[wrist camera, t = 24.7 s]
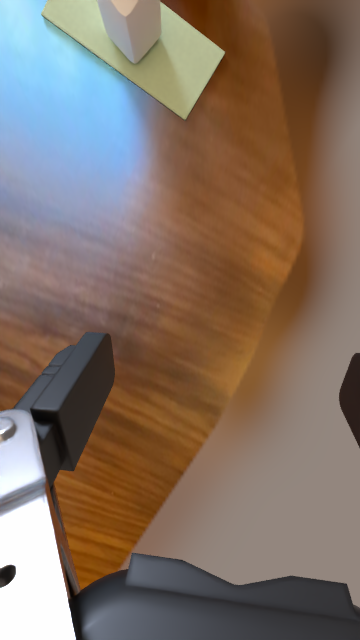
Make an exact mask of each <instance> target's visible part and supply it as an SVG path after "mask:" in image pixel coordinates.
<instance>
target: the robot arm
mask: <svg viewBox="0 0 360 640" xmlns="http://www.w3.org/2000/svg"><path fill="white" fill-rule="evenodd" d="M114 376H115V367H114V359H113V351H112V343H111V337H110V335H109V334H107V333H93V332H86V333H85V334H84V335H83V337H82V338H81V339H80V341H79V342H78V344H77V345H76V346H74V345H70V346H68V347H67V348H65V349H64V350H62V351H60V352H59V353H57V354H56V356H55V357H54V358H53V359H52V361H51V362H50V363H49V366H47V367H46V368H45V369H44V371H43V372H42V375H40V376H39V377H38V378H37V379H36V381H35V382H34V383H33V384H32V386H31V387H30V388H29V389H28V391H27V392H26V393H25V394H24V396H23V397H22V398H21V399H20V400H19V402H18V403H17V404H16V405H15V407H14V408H13V409H10V410H4V411H1V412H0V640H360V608H359V607H357V606H355V605H353V603H352V600H351V596H350V593H349V590H348V586H347V584H344V583H338V582H331V581H324V580H317V579H310V578H303V577H296V576H287V577H282V578H277V579H272V580H266V581H261V582H255V583H250V584H245V585H234V584H231V583H229V582H227V581H225V580H223V579H221V578H219V577H217V576H215V575H212V574H210V573H208V572H206V571H204V570H202V569H200V568H198V567H196V566H194V565H192V564H189V563H187V562H185V561H183V560H178V559H171V558H165V557H158V556H151V555H144V554H137V553H132V555H131V560H130V565H129V569H126V570H121V571H117V572H115V573H112V574H109V575H106V576H104V577H102V578H100V579H98V580H96V581H94V582H93V583H91V584H90V585H88V586H87V587H85V588H84V589H82V590H80V586H79V582H78V578H77V574H76V571H75V567H74V563H73V560H72V556H71V553H70V549H69V545H68V540H67V536H66V532H65V527H64V523H63V519H62V514H61V510H60V506H59V501H58V497H57V493H56V488H55V485H54V480H55V478H56V476H57V474H58V472H59V470H67V471H74V469H75V467H76V465H77V463H78V460H79V458H80V456H81V454H82V452H83V449H84V447H85V445H86V443H87V441H88V439H89V436H90V434H91V432H92V430H93V428H94V425H95V423H96V421H97V419H98V417H99V414H100V412H101V410H102V408H103V406H104V404H105V401H106V399H107V397H108V395H109V393H110V390H111V388H112V386H113V382H114ZM339 401H340V407H341V409H342V412H343V414H344V416H345V418H346V420H347V422H348V424H349V426H350V428H351V431H352V433H353V435H354V437H355V439H356V441H357V443H358V445H359V447H360V353H356V354H354V356H353V357H352V359H351V362H350V364H349V367H348V370H347V373H346V375H345V378H344V381H343V383H342V386H341V389H340V393H339Z"/></svg>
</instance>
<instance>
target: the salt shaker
mask: <svg viewBox="0 0 360 640" xmlns="http://www.w3.org/2000/svg"><path fill="white" fill-rule="evenodd" d="M97 3H98V6H99V9H100V13H101V16H102V20H103V23H104V27H105V30H106V33H107V35H108V37H109V38H110V39H111V40H112V41H113V42H114V43H115V45H116V46H117V47H118V48H119V49H120V50H121V51H122V52H123V54H124V55H125V56H126V57H127V58H128V59H129V60H130V61H131V62H132V63H134V64H136V63H138V62H139V61H140V59H141V58H142V57H143V56H144V55H145V54H146V53H147V51H148V50H149V49H150V48H151V47H152V46H153V45H154V43H155V42H156V41H157V40H158V39H159V37H160V35H161V32H162V28H161V9H160V0H97Z"/></svg>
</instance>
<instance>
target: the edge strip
mask: <svg viewBox="0 0 360 640" xmlns="http://www.w3.org/2000/svg"><path fill="white" fill-rule="evenodd" d="M160 9H161V28H162V32H161V35H160V37H159V39H158V40H157V41H156V42H155V43H154V45H153V46H152V47H151V48H150V49H149V50H148V51H147V53H146V54H145V55H144V56H143V57H142V58H141V59H140V61H139V62H138V63H136V64H134V63H132V62H131V61H130V60H129V59H128V58H127V57H126V56H125V55H124V54H123V52H122V51H121V50H120V49H119V48H118V47H117V46H116V45H115V43H114V42H113V41H112V40H111V39H110V38H109V37H108V35H107V33H106V30H105V27H104V23H103V20H102V16H101V13H100V9H99V6H98V3H97V0H48V1H47V3H46V5H45V7H44V9H43V11H42V13H41V15H42V16H43V17H44V18H46V19H47V20H48V21H50V22H51V23H53V24H54V25H55V26H57V27H58V28H59V29H61V30H62V31H63V32H65V33H66V34H68V35H69V36H70V37H72V38H73V39H74V40H76V41H77V42H78V43H80V44H81V45H83V46H84V47H85V48H87V49H88V50H89V51H91V52H92V53H93V54H95V55H96V56H98V57H99V58H100V59H102V60H103V61H104V62H106V63H107V64H108V65H110V66H111V67H113V68H114V69H115V70H117V71H118V72H119V73H121V74H122V75H124V76H125V77H126V78H128V79H129V80H130V81H132V82H133V83H134V84H136V85H137V86H139V87H140V88H141V89H143V90H144V91H145V92H147V93H148V94H149V95H151V96H152V97H154V98H155V99H156V100H158V101H159V102H160V103H162V104H163V105H164V106H166V107H167V108H169V109H170V110H171V111H173V112H174V113H175V114H177V115H178V116H179V117H181V118H182V119H184V120H186V118H187V117H188V115H189V113H190V112H191V110H192V108H193V107H194V105H195V103H196V102H197V100H198V98H199V97H200V95H201V93H202V91H203V90H204V88H205V86H206V85H207V83H208V81H209V80H210V78H211V76H212V75H213V73H214V71H215V70H216V68H217V66H218V65H219V63H220V61H221V59H222V58H223V56H224V54H225V52H224V51H223V50H222V49H220V48H219V47H218V46H216V45H215V44H214V43H213V42H211V41H210V40H209V39H208V38H206V37H205V36H204V35H202V34H201V33H200V32H199V31H197V30H196V29H195V28H193V27H192V26H191V25H190V24H188V23H187V22H186V21H184V20H183V19H182V18H181V17H179V16H178V15H177V14H176V13H174V12H173V11H172V10H170V9H169V8H168V7H167V6H165V5H164V4H163V3H161V2H160Z"/></svg>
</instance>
